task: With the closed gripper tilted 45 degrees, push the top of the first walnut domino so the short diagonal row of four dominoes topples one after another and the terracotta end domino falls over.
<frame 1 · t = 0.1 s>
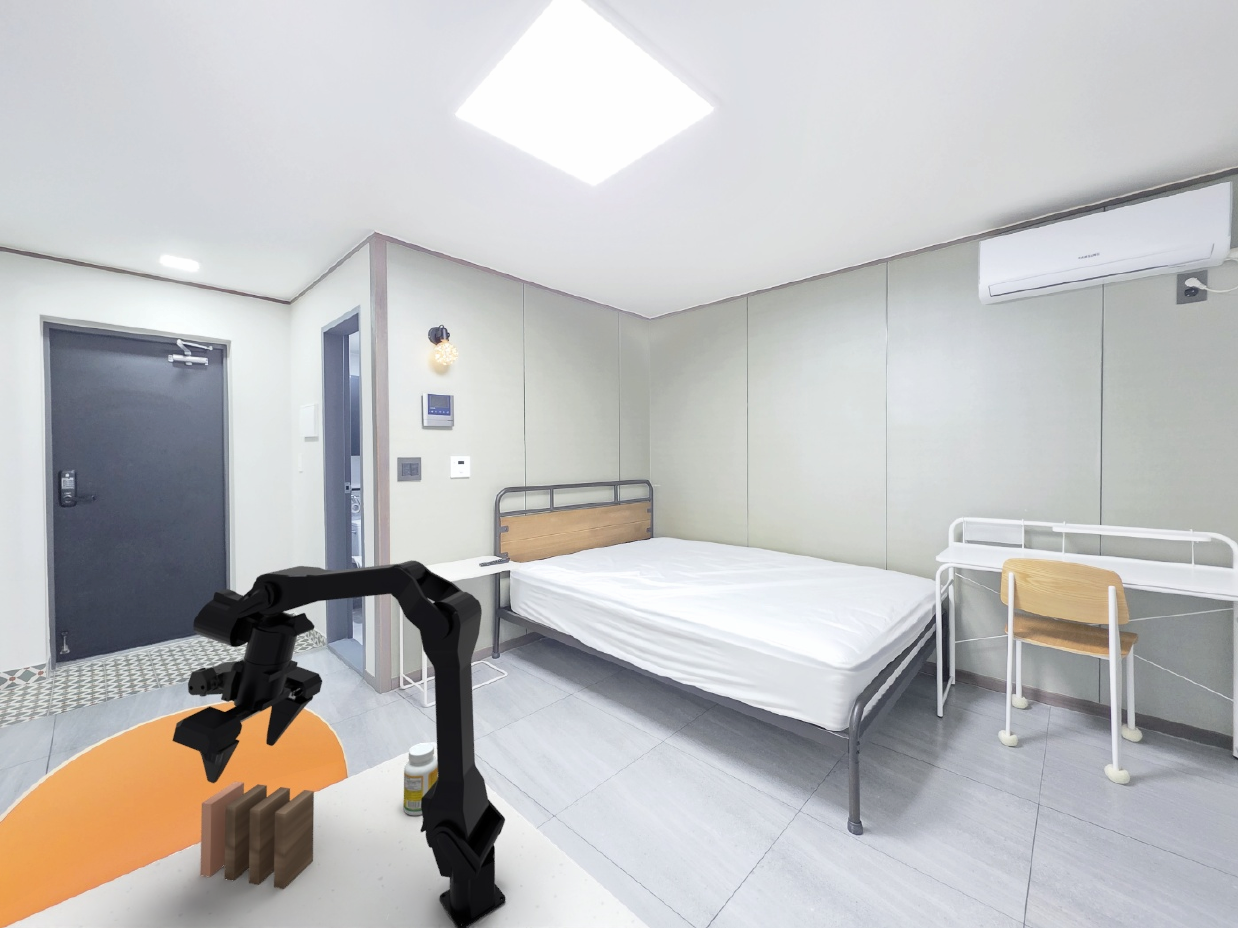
hand: (242, 761, 70), 15 cm above the table, tool pointing down, fingers open, 9 cm apart
domino 2: (269, 869, 70), on the table
domino 1: (294, 873, 70), on the table
domino 3: (245, 865, 71), on the table
supplement bottle: (420, 806, 84), on the table
domino 4: (222, 862, 72), on the table
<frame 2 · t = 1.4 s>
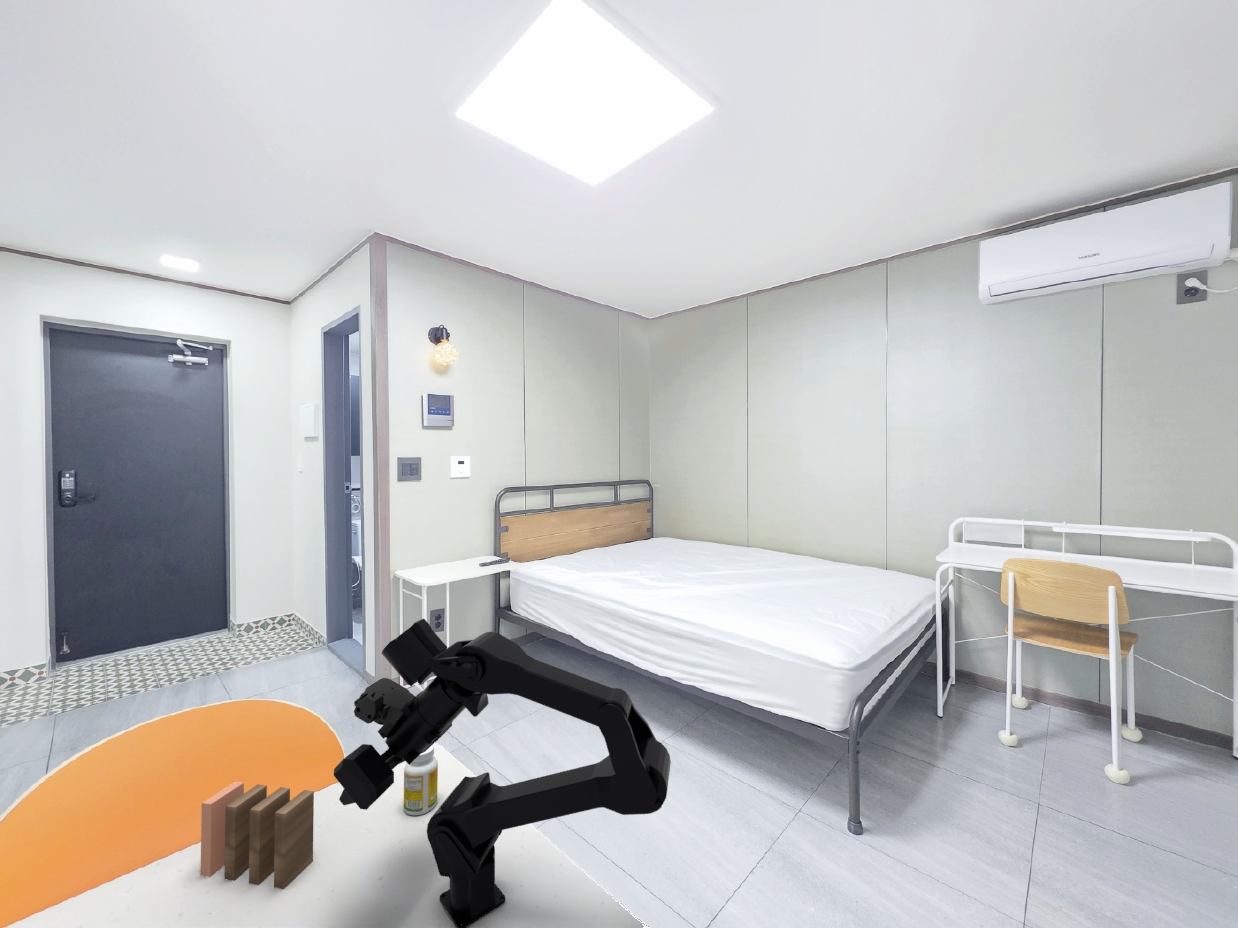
hand: (361, 784, 68), 13 cm above the table, tool tilted 45°, fingers open, 7 cm apart
nothing on the table moved.
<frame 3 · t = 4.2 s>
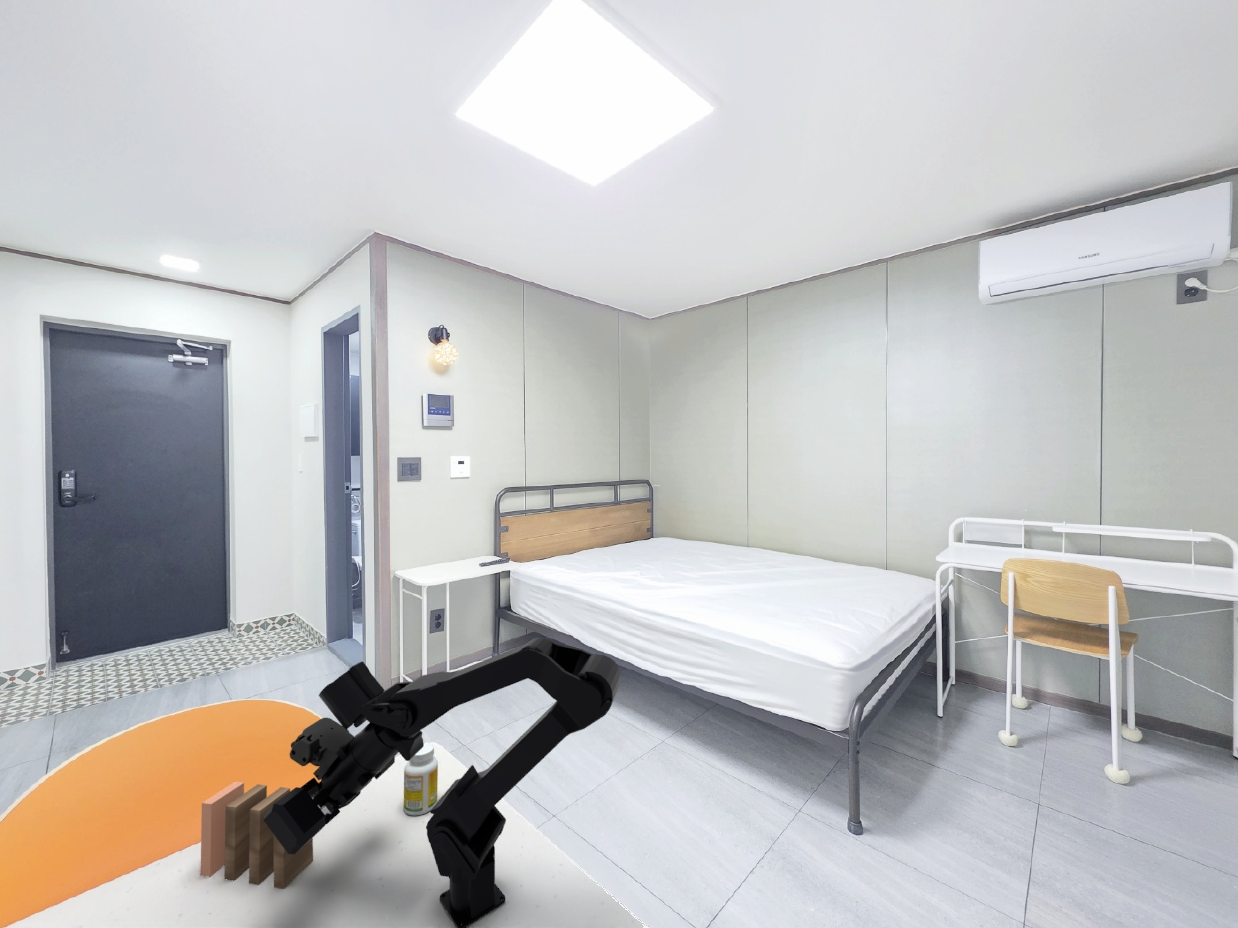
hand: (300, 822, 70), 7 cm above the table, tool tilted 45°, fingers closed, pressing on domino 1
domino 1: (294, 873, 70), on the table, touching gripper
everything else where it was.
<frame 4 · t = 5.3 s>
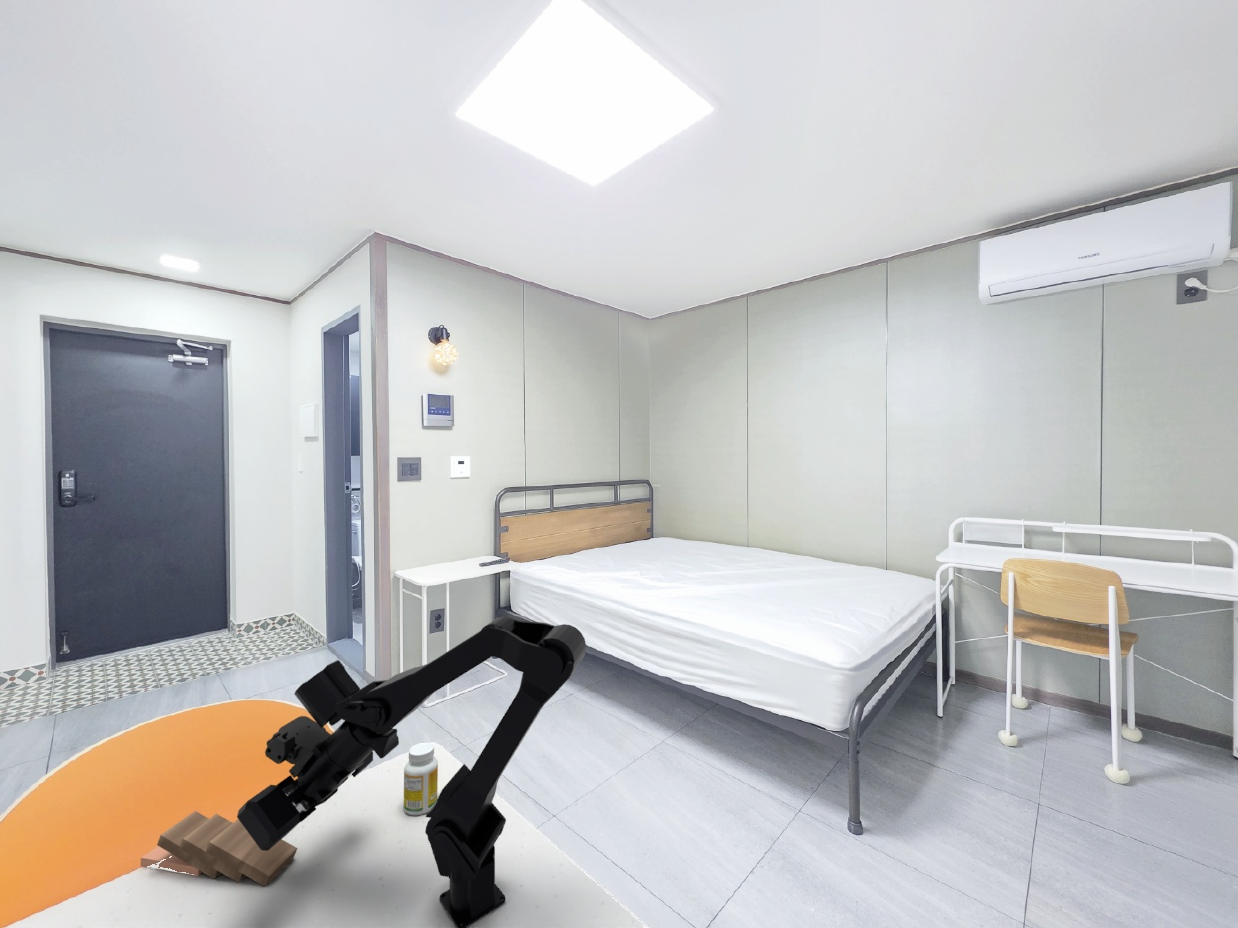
hand: (277, 819, 71), 7 cm above the table, tool tilted 45°, fingers closed
domino 2: (256, 862, 71), point 1 cm above the table, tilted 67°, touching domino 1, domino 3
domino 1: (282, 866, 70), point 1 cm above the table, tilted 67°, touching domino 2
domino 3: (232, 859, 71), point 1 cm above the table, tilted 68°, touching domino 2, domino 4
domino 4: (215, 859, 72), on the table, tilted 90°, touching domino 3
everything else where it was.
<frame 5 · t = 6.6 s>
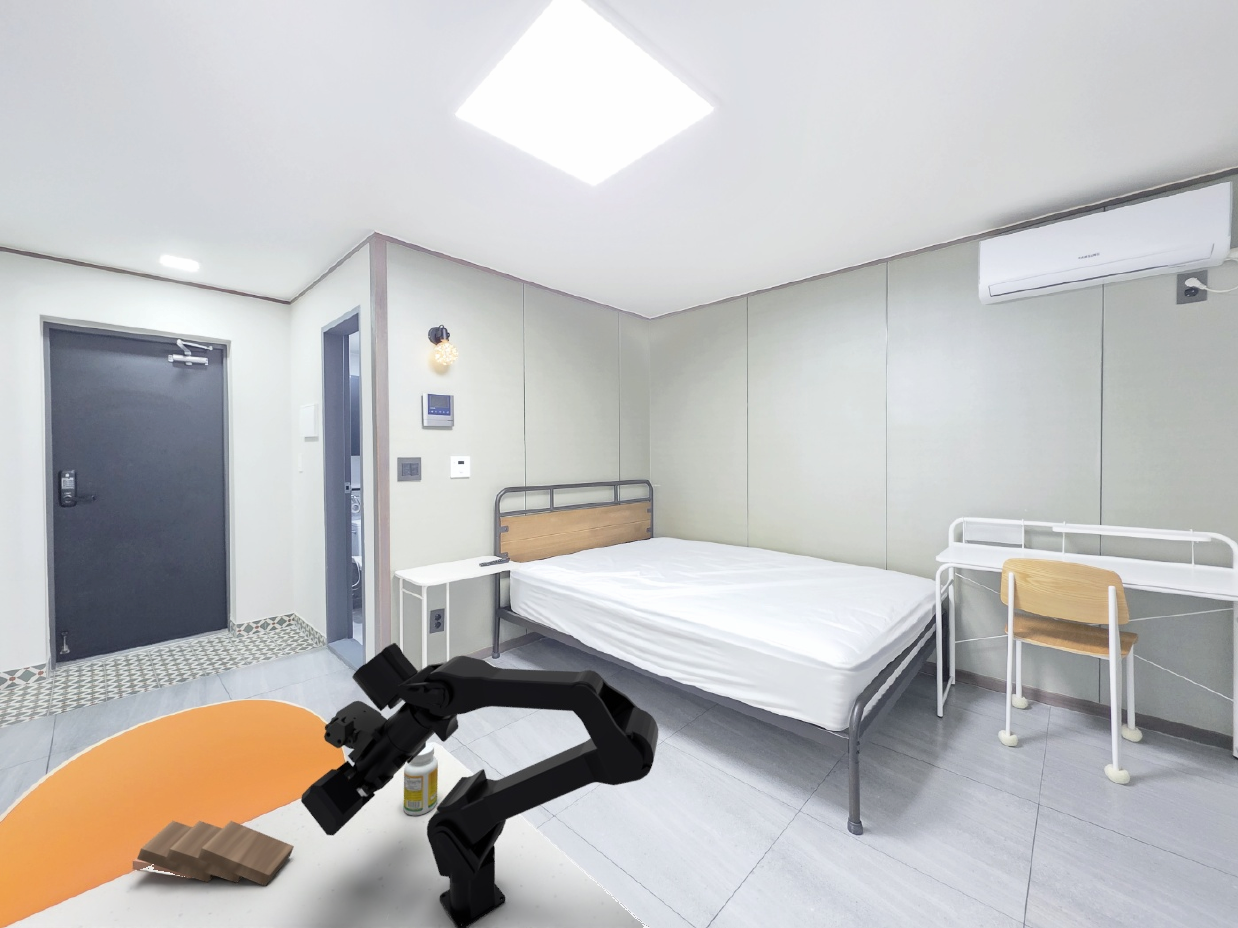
hand: (333, 806, 69), 10 cm above the table, tool tilted 45°, fingers closed
domino 3: (223, 861, 71), point 1 cm above the table, tilted 69°, touching domino 2, domino 4
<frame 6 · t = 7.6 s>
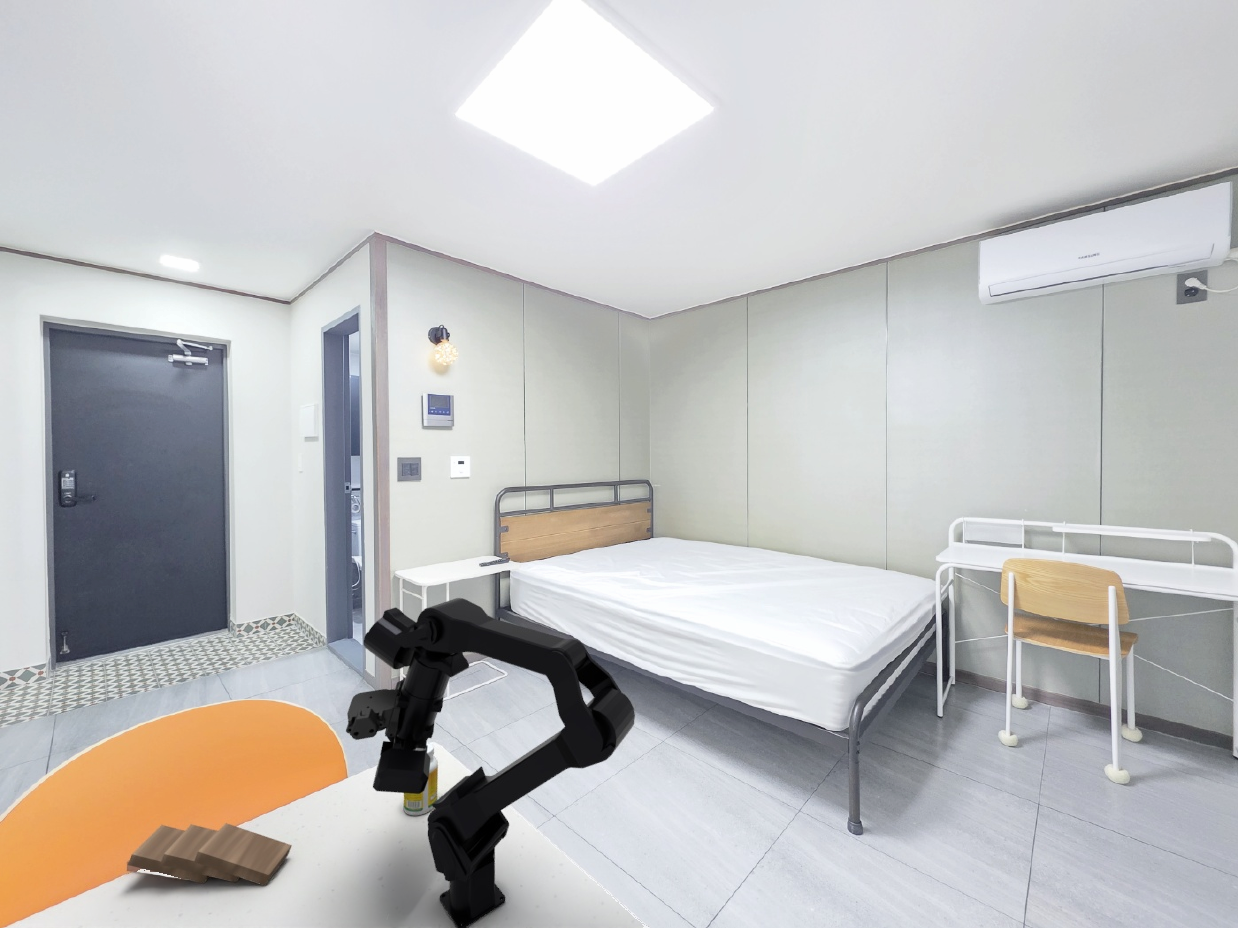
hand: (391, 780, 71), 12 cm above the table, tool tilted 25°, fingers closed
domino 1: (278, 864, 70), point 1 cm above the table, tilted 69°, touching domino 2
domino 3: (218, 862, 71), point 1 cm above the table, tilted 69°, touching domino 2
domino 4: (203, 862, 71), on the table, tilted 90°
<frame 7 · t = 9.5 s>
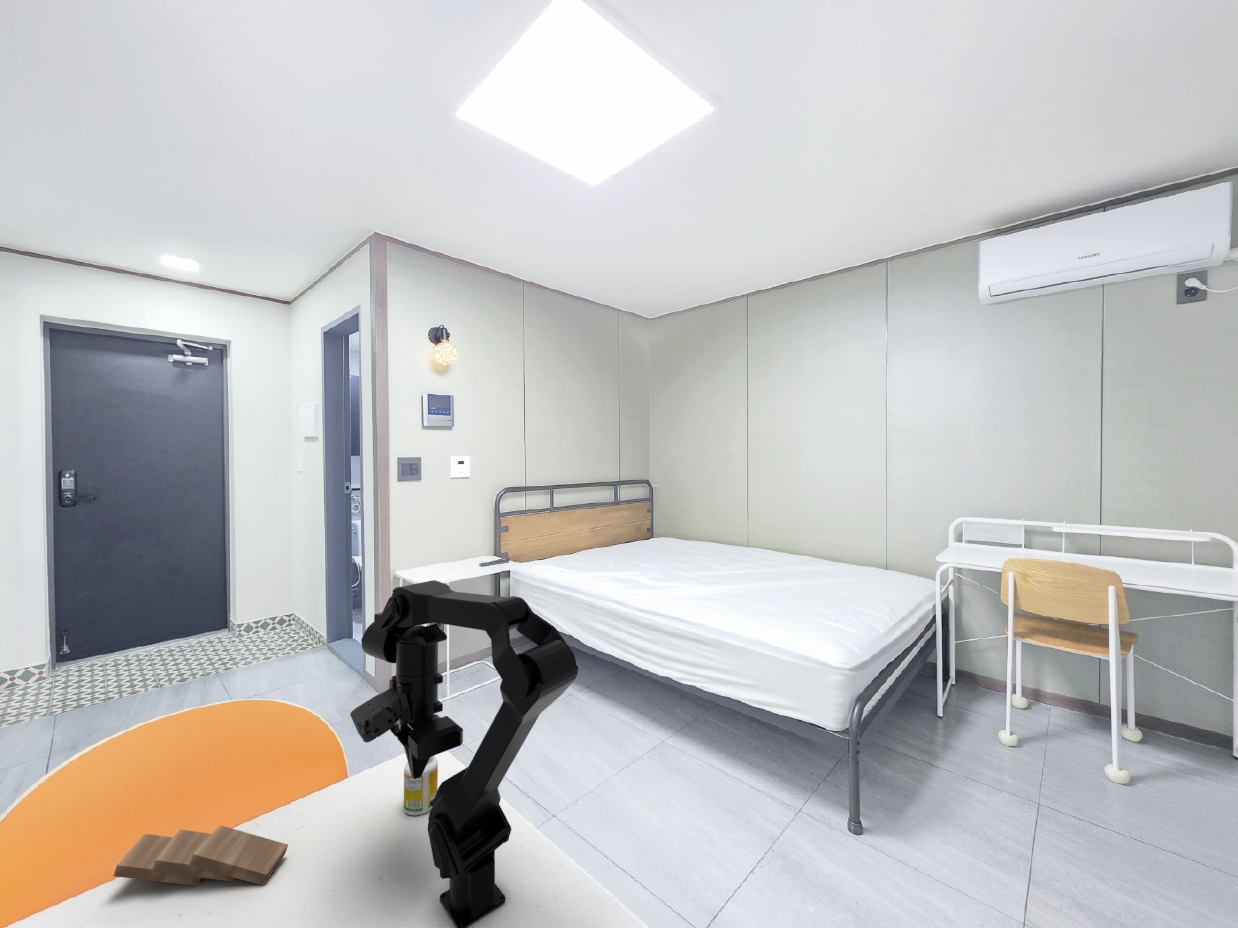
hand: (416, 776, 72), 12 cm above the table, tool pointing down, fingers closed
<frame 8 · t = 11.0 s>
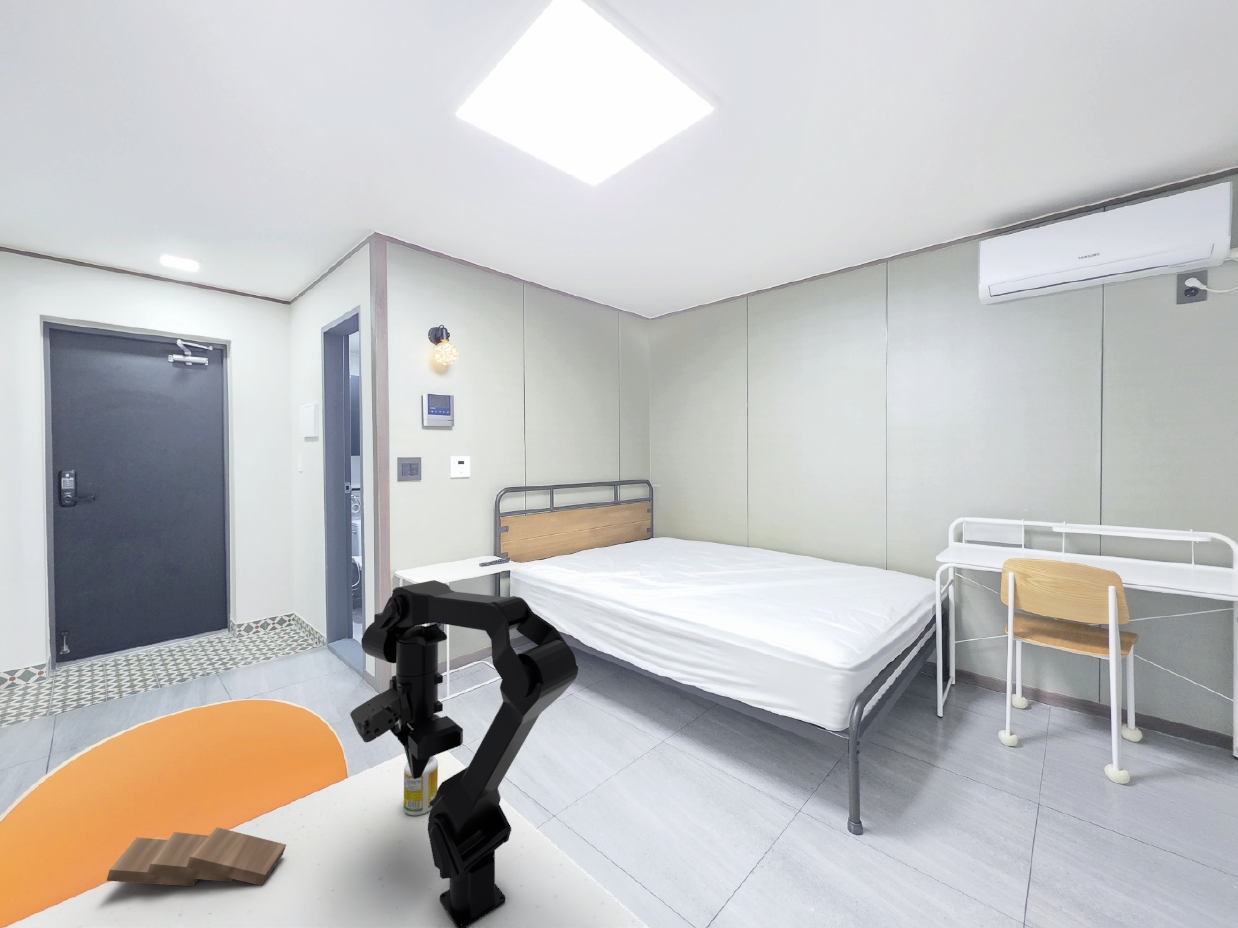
hand: (416, 776, 72), 12 cm above the table, tool pointing down, fingers closed
domino 3: (205, 864, 70), point 1 cm above the table, tilted 73°, touching domino 2, domino 4
domino 4: (189, 865, 71), on the table, tilted 90°, touching domino 3
at the end: domino 4 tilted 90°; domino 1 tilted 70° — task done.
